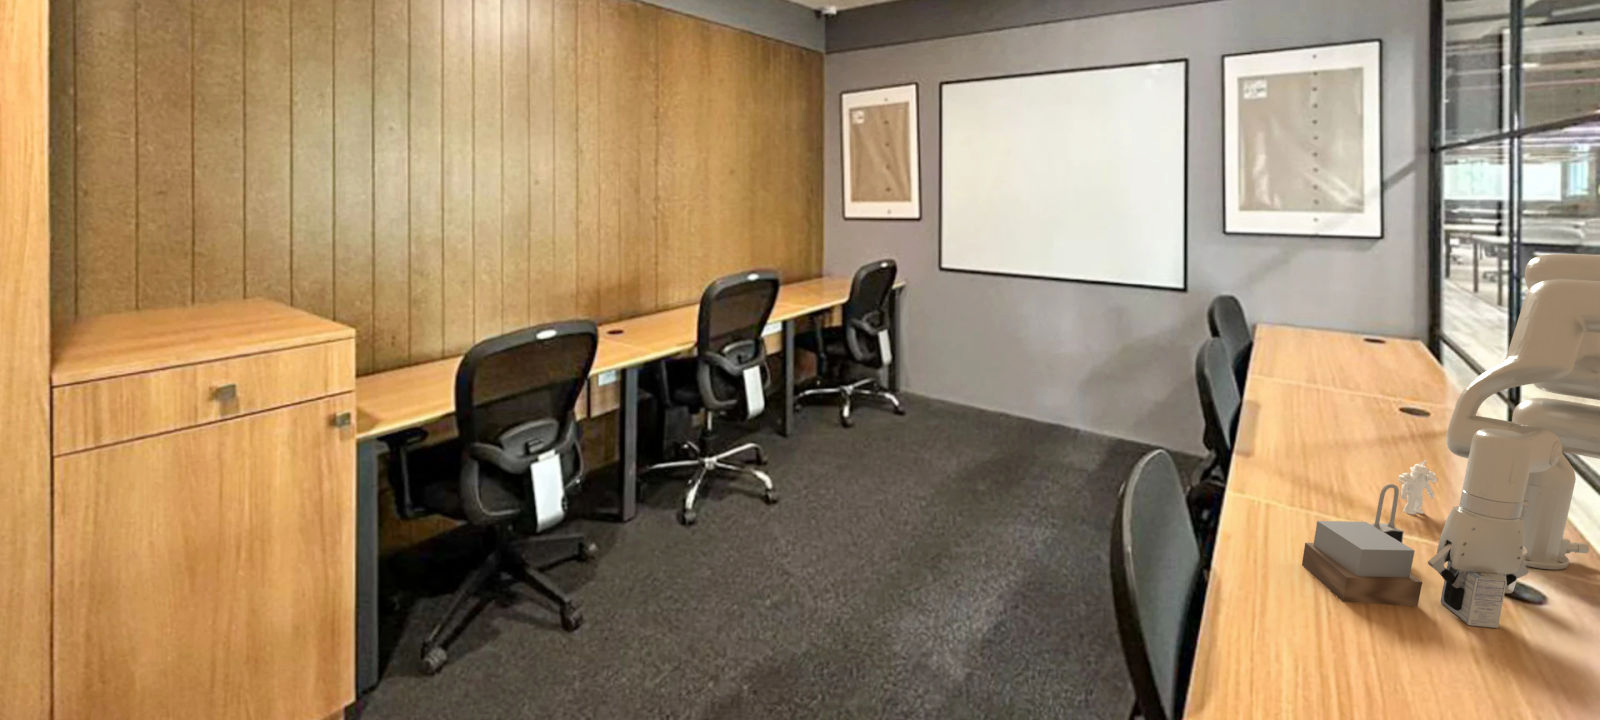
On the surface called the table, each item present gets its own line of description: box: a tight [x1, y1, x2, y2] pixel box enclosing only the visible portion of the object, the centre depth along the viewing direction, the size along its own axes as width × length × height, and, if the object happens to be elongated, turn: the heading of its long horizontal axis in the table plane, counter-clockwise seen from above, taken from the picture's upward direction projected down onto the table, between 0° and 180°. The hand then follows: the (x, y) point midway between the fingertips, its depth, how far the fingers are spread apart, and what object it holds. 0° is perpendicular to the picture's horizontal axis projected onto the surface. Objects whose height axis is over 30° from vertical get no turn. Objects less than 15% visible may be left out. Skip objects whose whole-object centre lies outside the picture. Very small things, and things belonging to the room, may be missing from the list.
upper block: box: [1313, 520, 1416, 577], centre depth 140 cm, size 9×12×5 cm
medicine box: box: [1440, 562, 1507, 629], centre depth 131 cm, size 8×4×9 cm, turn 168°
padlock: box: [1369, 483, 1404, 543], centre depth 151 cm, size 7×4×15 cm, turn 101°
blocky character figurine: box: [1398, 458, 1439, 516], centre depth 174 cm, size 9×4×12 cm, turn 102°
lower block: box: [1301, 542, 1423, 608], centre depth 141 cm, size 12×14×5 cm
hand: (1469, 606), depth 131 cm, fingers closed on medicine box, 4 cm apart
